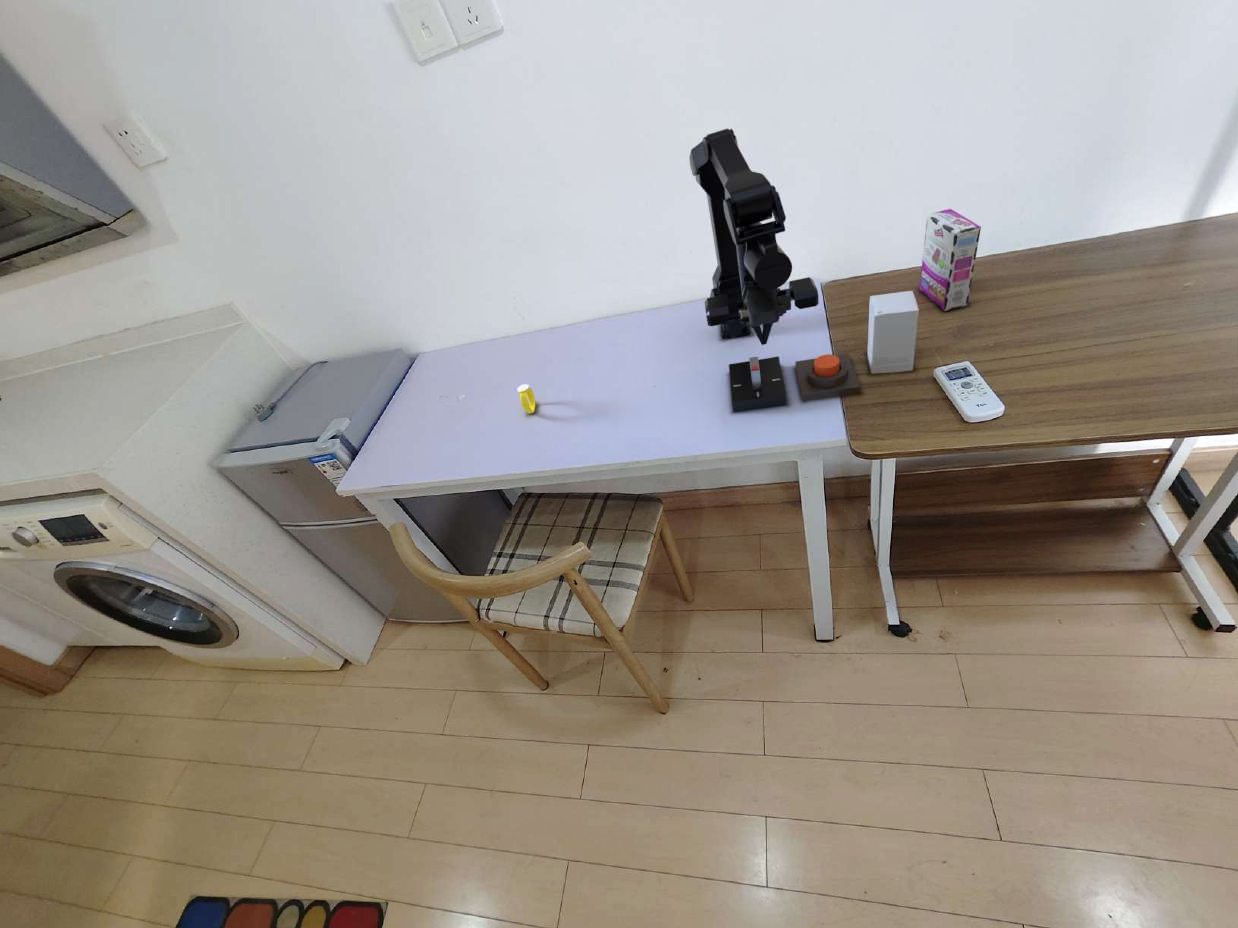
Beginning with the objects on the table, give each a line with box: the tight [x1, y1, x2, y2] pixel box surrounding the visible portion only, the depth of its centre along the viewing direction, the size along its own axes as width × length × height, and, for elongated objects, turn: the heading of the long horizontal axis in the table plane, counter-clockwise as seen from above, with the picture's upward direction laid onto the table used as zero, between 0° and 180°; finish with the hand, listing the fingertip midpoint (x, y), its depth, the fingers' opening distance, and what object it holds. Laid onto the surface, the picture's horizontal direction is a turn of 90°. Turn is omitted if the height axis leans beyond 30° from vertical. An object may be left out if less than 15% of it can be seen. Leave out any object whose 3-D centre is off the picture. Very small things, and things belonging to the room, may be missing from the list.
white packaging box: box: [866, 290, 920, 375], centre depth 106 cm, size 7×7×13 cm
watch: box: [516, 383, 537, 414], centre depth 128 cm, size 6×3×6 cm, turn 1°
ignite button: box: [814, 353, 839, 377], centre depth 108 cm, size 4×4×2 cm
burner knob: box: [748, 356, 762, 391], centre depth 110 cm, size 5×2×5 cm, turn 175°
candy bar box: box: [919, 208, 982, 312], centre depth 116 cm, size 11×5×16 cm, turn 6°
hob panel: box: [728, 356, 788, 413], centre depth 114 cm, size 13×10×3 cm
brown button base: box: [795, 353, 861, 402], centre depth 110 cm, size 11×10×4 cm
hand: (763, 343), depth 106 cm, fingers closed
